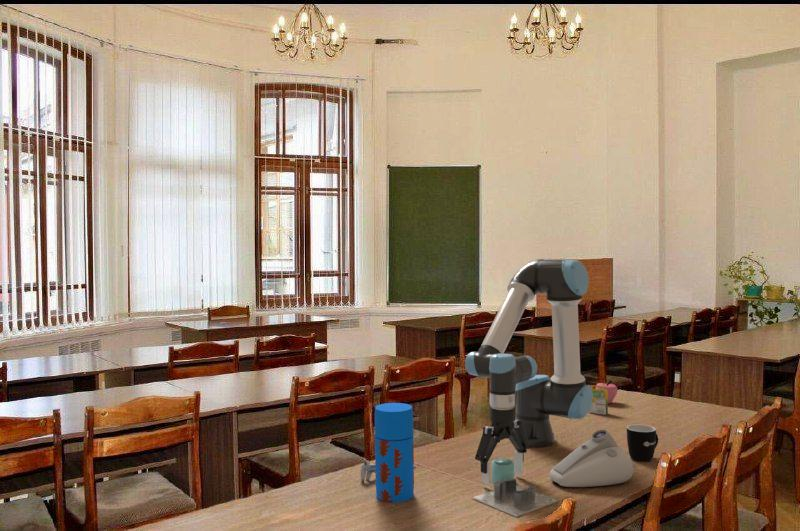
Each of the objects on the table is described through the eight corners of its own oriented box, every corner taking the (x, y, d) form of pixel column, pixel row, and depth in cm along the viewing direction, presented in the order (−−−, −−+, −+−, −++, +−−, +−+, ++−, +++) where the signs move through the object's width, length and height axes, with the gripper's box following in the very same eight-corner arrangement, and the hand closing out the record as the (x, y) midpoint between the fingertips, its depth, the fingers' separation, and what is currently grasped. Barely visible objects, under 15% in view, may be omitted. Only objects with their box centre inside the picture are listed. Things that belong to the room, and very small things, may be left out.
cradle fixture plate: (473, 499, 188) (473, 484, 188) (513, 485, 197) (513, 471, 197) (516, 517, 175) (516, 501, 175) (556, 501, 185) (556, 487, 185)
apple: (604, 399, 302) (604, 377, 302) (621, 403, 295) (621, 380, 295) (591, 403, 296) (591, 380, 295) (609, 406, 289) (609, 383, 289)
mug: (642, 465, 214) (642, 433, 213) (620, 457, 222) (620, 426, 221) (668, 458, 220) (668, 427, 219) (646, 451, 227) (646, 421, 227)
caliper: (362, 483, 202) (362, 462, 202) (360, 482, 203) (360, 461, 203) (415, 468, 214) (415, 448, 214) (413, 467, 215) (413, 448, 215)
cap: (487, 481, 201) (487, 460, 201) (502, 476, 205) (502, 456, 205) (503, 487, 196) (503, 466, 196) (518, 482, 200) (518, 461, 200)
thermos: (392, 485, 199) (391, 400, 198) (421, 493, 192) (420, 406, 191) (367, 496, 190) (366, 408, 190) (397, 505, 184) (396, 414, 183)
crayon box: (608, 413, 278) (607, 385, 278) (606, 415, 276) (605, 386, 275) (590, 411, 282) (590, 383, 282) (588, 412, 279) (587, 384, 279)
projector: (561, 464, 217) (561, 418, 216) (637, 473, 207) (637, 425, 206) (545, 487, 196) (545, 437, 196) (628, 498, 187) (628, 446, 186)
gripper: (481, 416, 189) (481, 491, 190) (540, 403, 204) (540, 473, 205) (462, 411, 195) (462, 484, 196) (521, 398, 210) (522, 466, 211)
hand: (502, 478), depth 200 cm, fingers open, 13 cm apart
